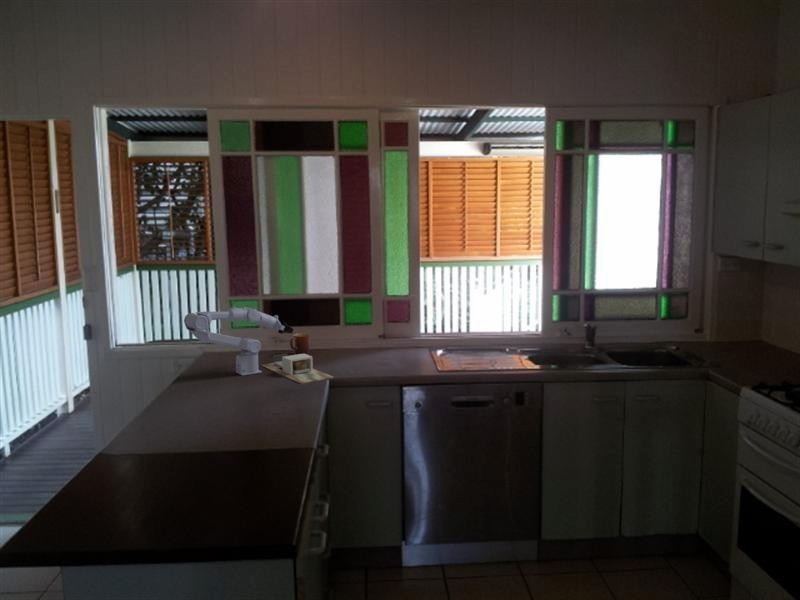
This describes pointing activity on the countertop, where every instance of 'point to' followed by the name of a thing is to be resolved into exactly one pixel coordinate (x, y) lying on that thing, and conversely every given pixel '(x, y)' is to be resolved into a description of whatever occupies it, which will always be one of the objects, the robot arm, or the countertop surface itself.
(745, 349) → the countertop surface
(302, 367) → the walnut block
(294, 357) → the tunnel
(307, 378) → the beige flat rectangular board
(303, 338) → the mug
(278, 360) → the sled
